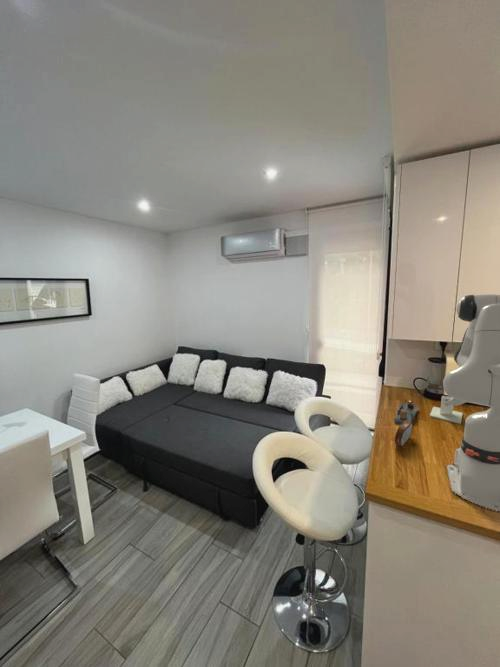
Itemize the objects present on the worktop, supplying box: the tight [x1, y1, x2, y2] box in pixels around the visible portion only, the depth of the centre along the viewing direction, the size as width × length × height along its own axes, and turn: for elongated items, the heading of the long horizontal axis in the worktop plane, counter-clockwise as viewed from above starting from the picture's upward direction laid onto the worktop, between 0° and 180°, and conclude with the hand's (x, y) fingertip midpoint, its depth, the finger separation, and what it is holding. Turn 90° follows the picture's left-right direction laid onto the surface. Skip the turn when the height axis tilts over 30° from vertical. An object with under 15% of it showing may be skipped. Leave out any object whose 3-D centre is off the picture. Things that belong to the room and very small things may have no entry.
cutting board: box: [429, 406, 464, 425], centre depth 142 cm, size 13×13×1 cm
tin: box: [394, 420, 413, 447], centre depth 120 cm, size 15×3×8 cm, turn 133°
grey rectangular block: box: [439, 395, 454, 417], centre depth 141 cm, size 4×5×9 cm
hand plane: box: [393, 399, 419, 425], centre depth 142 cm, size 22×7×6 cm, turn 139°
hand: (445, 401), depth 141 cm, fingers open, 8 cm apart
